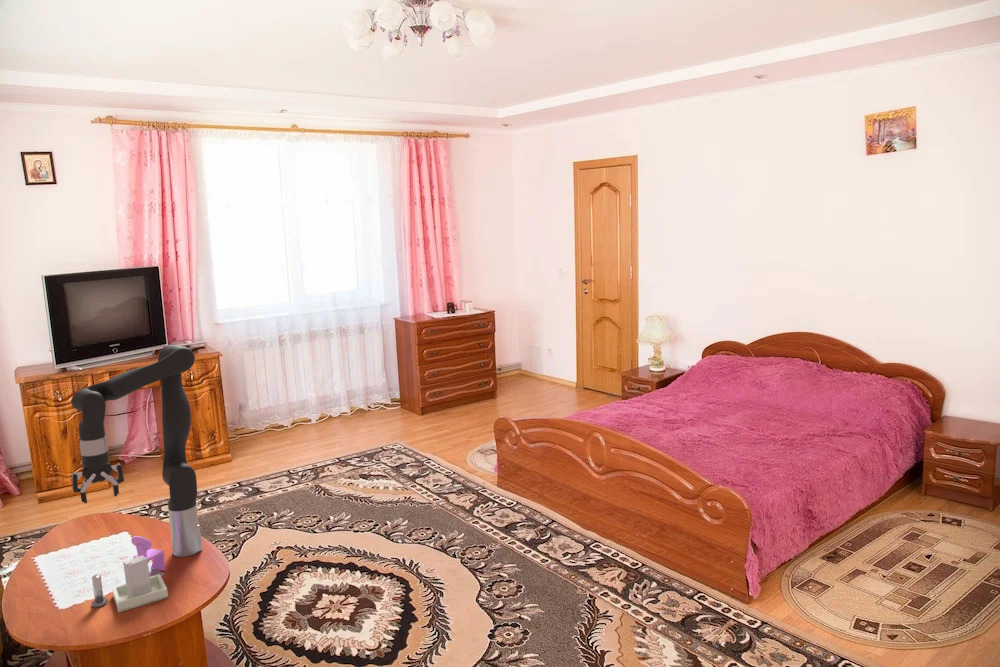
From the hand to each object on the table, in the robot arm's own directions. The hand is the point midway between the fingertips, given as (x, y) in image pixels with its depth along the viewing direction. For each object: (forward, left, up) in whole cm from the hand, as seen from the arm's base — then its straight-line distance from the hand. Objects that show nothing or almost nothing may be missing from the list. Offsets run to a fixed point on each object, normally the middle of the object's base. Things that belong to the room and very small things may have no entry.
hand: (100, 499), depth 226 cm
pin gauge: (+5, +12, -30) cm, 32 cm away
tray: (-6, +15, -30) cm, 34 cm away
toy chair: (-11, +1, -30) cm, 32 cm away
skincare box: (-6, +15, -29) cm, 34 cm away
